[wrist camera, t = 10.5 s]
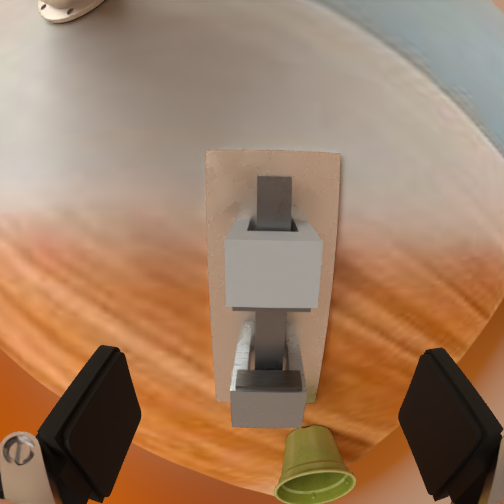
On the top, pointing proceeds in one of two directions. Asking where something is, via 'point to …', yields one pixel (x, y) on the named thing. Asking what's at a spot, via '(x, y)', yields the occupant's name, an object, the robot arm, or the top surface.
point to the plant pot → (313, 468)
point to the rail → (269, 323)
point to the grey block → (272, 268)
